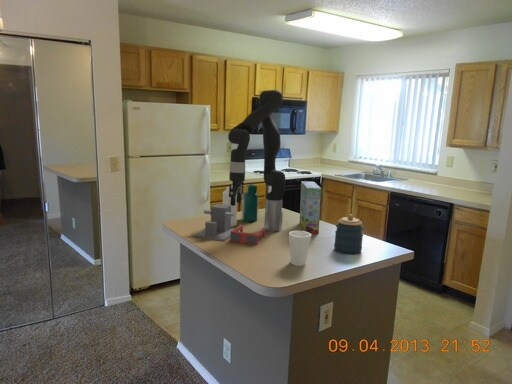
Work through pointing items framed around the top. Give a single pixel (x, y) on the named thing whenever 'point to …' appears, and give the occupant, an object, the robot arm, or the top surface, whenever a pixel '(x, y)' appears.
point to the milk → (233, 208)
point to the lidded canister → (348, 235)
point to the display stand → (217, 223)
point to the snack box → (310, 207)
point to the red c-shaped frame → (246, 236)
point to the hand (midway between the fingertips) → (235, 204)
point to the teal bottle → (250, 204)
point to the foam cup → (299, 247)
